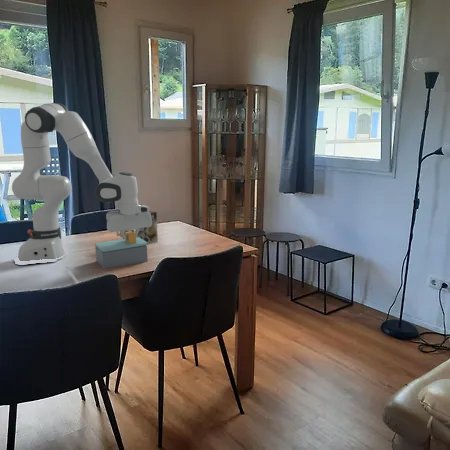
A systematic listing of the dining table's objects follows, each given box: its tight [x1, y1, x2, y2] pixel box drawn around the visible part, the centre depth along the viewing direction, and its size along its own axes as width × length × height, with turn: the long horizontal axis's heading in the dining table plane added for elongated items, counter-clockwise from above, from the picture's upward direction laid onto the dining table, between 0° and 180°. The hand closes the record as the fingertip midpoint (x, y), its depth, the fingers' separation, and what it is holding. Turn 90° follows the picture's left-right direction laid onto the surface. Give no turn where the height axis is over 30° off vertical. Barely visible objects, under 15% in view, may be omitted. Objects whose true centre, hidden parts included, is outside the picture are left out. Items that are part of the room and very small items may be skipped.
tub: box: [94, 245, 149, 270], centre depth 200 cm, size 20×12×8 cm, turn 120°
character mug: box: [116, 229, 136, 239], centre depth 220 cm, size 11×7×13 cm, turn 127°
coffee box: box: [137, 210, 159, 245], centre depth 232 cm, size 9×6×16 cm
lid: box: [94, 231, 149, 252], centre depth 199 cm, size 20×12×6 cm, turn 121°
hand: (130, 238), depth 201 cm, fingers closed on lid, 3 cm apart
